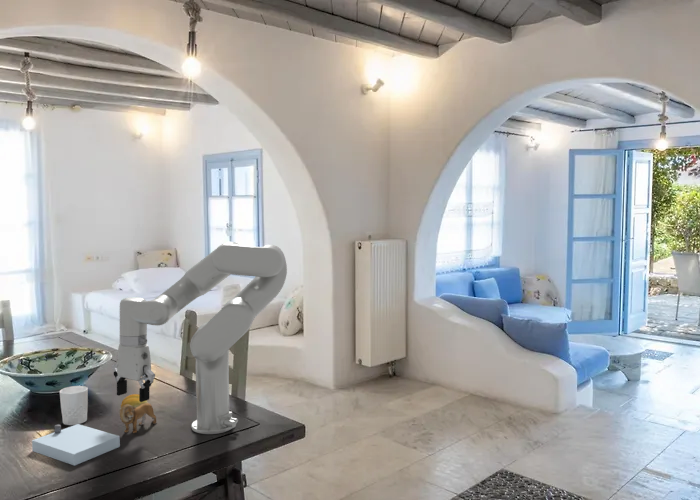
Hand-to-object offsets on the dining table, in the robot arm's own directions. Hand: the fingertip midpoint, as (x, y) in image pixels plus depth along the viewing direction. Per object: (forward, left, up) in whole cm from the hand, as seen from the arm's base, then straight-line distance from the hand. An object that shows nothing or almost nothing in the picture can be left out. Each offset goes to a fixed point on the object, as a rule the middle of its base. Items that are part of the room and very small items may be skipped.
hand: (132, 397), depth 182 cm
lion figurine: (-1, -1, -10) cm, 10 cm away
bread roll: (+16, -14, -10) cm, 24 cm away
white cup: (+21, +4, -10) cm, 24 cm away
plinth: (+2, +17, -10) cm, 20 cm away
